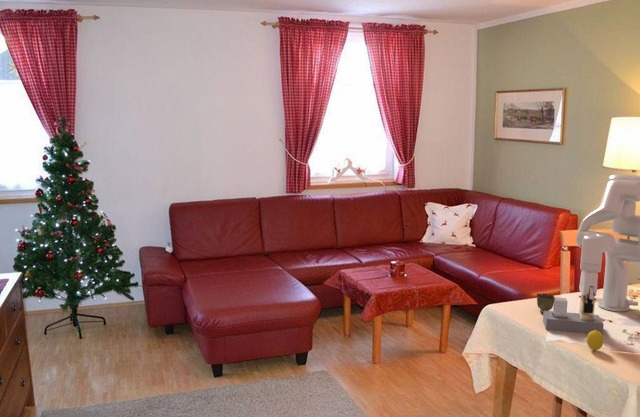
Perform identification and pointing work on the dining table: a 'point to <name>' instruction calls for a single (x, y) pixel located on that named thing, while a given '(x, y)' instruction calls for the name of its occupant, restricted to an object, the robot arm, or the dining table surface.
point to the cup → (545, 301)
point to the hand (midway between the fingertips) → (586, 310)
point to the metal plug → (560, 307)
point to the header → (572, 323)
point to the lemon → (595, 340)
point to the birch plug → (583, 315)
